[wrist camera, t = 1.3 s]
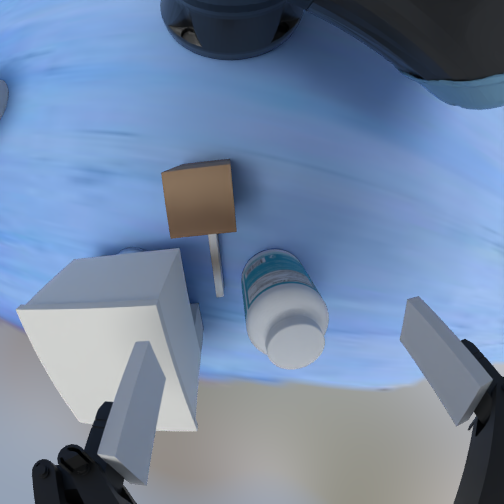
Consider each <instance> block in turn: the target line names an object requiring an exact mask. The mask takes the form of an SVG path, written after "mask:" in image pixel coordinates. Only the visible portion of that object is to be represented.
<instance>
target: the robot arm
mask: <svg viewBox="0 0 504 504" xmlns="http://www.w3.org/2000/svg"><path fill="white" fill-rule="evenodd" d="M160 6H161V14H162V18H163V21H164V23H165V25H166V27H167V29H168V31H169V32H170V34H171V35H172V36H173V38H174V39H175V40H176V41H177V42H178V43H179V44H181V45H182V46H183V47H185V48H187V49H188V50H190V51H192V52H194V53H197V54H199V55H202V56H206V57H210V58H215V59H224V60H236V59H245V58H251V57H255V56H258V55H261V54H264V53H267V52H269V51H271V50H273V49H275V48H276V47H278V46H279V45H281V44H282V43H283V42H285V41H286V40H287V39H288V38H289V37H290V35H291V34H292V33H293V31H294V30H295V28H296V27H297V25H298V24H299V22H300V20H301V17H302V14H303V10H304V9H305V10H307V11H308V12H310V13H312V14H314V15H316V16H318V17H320V18H322V19H324V20H325V21H327V22H329V23H331V24H333V25H335V26H336V27H338V28H340V29H342V30H343V31H345V32H347V33H348V34H350V35H352V36H353V37H355V38H356V39H358V40H360V41H361V42H363V43H364V44H366V45H367V46H369V47H370V48H371V49H373V50H374V51H376V52H377V53H379V54H380V55H381V56H383V57H384V58H385V59H387V60H388V61H389V62H391V63H392V64H393V65H394V66H395V67H396V68H397V69H398V70H399V71H400V72H401V73H402V74H403V75H404V76H406V77H408V78H410V79H412V80H414V81H416V82H418V83H419V84H420V85H422V86H423V87H424V88H425V89H427V90H428V91H429V92H430V93H431V94H433V95H434V96H435V97H437V98H438V99H440V100H441V101H443V102H445V103H447V104H449V105H454V106H460V107H462V108H466V109H474V110H482V109H492V108H497V107H501V106H504V0H161V3H160ZM307 8H308V9H307ZM400 341H401V342H402V344H403V345H404V347H405V348H406V349H407V351H408V352H409V354H410V355H411V357H412V358H413V360H414V361H415V363H416V364H417V365H418V367H419V368H420V370H421V371H422V373H423V374H424V376H425V377H426V379H427V380H428V382H429V384H430V385H431V387H432V388H433V389H434V391H435V393H436V394H437V396H438V397H439V399H440V401H441V402H442V404H443V405H444V407H445V409H446V410H447V412H448V414H449V415H450V417H451V418H452V420H453V422H454V423H455V425H456V426H458V425H460V424H461V423H463V422H465V421H467V420H468V419H469V418H470V416H471V415H472V414H473V412H474V413H475V414H476V417H475V419H474V420H473V422H472V423H471V424H470V426H469V428H468V430H470V429H471V428H472V426H473V431H472V437H471V442H470V447H469V451H468V456H467V460H466V464H465V468H464V472H463V475H462V479H461V482H460V485H459V489H458V492H457V495H456V498H455V501H454V504H504V377H502V376H501V375H500V374H499V373H498V372H497V370H496V369H495V368H494V367H493V365H492V364H491V363H490V362H489V361H488V360H487V358H486V357H484V355H483V354H482V353H481V352H480V350H479V349H478V348H477V347H476V346H475V345H474V344H473V343H471V342H470V341H468V340H466V339H464V340H461V341H460V340H459V339H458V338H457V336H456V335H455V334H454V333H453V332H452V331H451V330H450V329H449V328H448V326H447V325H446V324H445V323H444V322H443V321H442V320H441V319H440V318H439V317H438V316H437V315H436V314H435V313H434V311H433V310H432V309H431V308H430V307H429V306H428V305H427V304H426V303H425V302H424V301H423V300H422V299H421V298H420V297H419V296H418V297H414V298H410V299H407V304H406V310H405V315H404V321H403V326H402V331H401V336H400ZM165 381H166V377H165V375H164V373H163V371H162V369H161V366H160V364H159V362H158V360H157V358H156V355H155V353H154V351H153V348H152V346H151V344H150V341H138V342H135V345H134V347H133V350H132V352H131V355H130V357H129V360H128V363H127V365H126V368H125V371H124V373H123V376H122V379H121V382H120V385H119V387H118V390H117V393H116V396H115V399H114V402H108V401H105V402H104V403H103V404H102V405H101V406H100V408H99V409H98V411H97V414H96V417H95V420H94V422H93V425H92V426H93V427H92V428H91V431H90V434H89V437H88V440H87V443H86V446H85V449H84V450H83V449H82V448H81V447H80V446H78V445H74V444H71V445H68V446H65V447H64V448H63V449H61V451H60V452H59V454H58V458H57V459H58V464H59V465H54V464H53V463H52V462H51V461H49V460H46V459H42V460H39V461H38V462H37V463H35V465H34V467H33V469H32V478H33V490H34V499H35V504H137V503H136V502H135V501H134V499H133V498H132V496H131V495H130V493H129V492H128V490H127V489H126V487H125V486H124V485H123V482H124V479H125V480H127V481H128V482H129V483H131V484H138V485H147V479H148V473H149V466H150V460H151V454H152V448H153V443H154V437H155V431H156V426H157V421H158V416H159V410H160V405H161V400H162V396H163V391H164V386H165Z"/></svg>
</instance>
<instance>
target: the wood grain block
mask: <svg viewBox="0 0 504 504" xmlns="http://www.w3.org/2000/svg"><path fill="white" fill-rule="evenodd" d="M161 174H162V182H163V190H164V198H165V205H166V212H167V218H168V225H169V231H170V237H171V238H181V237H190V236H200V235H208V238H209V246H210V254H211V261H212V268H213V275H214V282H215V289H216V296H217V297H224V282H223V274H222V267H221V258H220V250H219V242H218V234H219V233H229V232H237V230H236V220H235V209H234V198H233V187H232V176H231V164H230V159H224V160H214V161H205V162H197V163H189V164H182V165H179V166H177V167H174V168H172V169H169V170H167V171H164V172H162V173H161Z"/></svg>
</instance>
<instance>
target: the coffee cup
mask: <svg viewBox="0 0 504 504" xmlns="http://www.w3.org/2000/svg"><path fill="white" fill-rule="evenodd" d="M7 101H8V87H7V84H6V83H5V82H4V81H3V80H0V119H1V117H2V115H3V114H4V111H5V109H6V106H7Z"/></svg>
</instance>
